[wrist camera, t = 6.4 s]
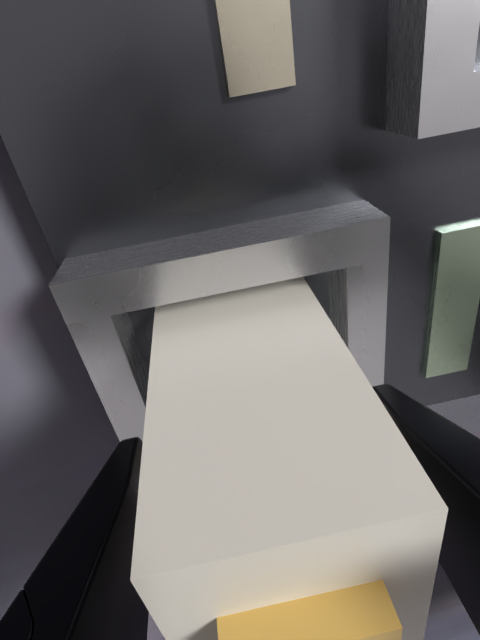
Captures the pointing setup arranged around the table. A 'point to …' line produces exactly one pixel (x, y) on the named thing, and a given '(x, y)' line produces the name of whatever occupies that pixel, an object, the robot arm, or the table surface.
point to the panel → (254, 172)
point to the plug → (276, 481)
